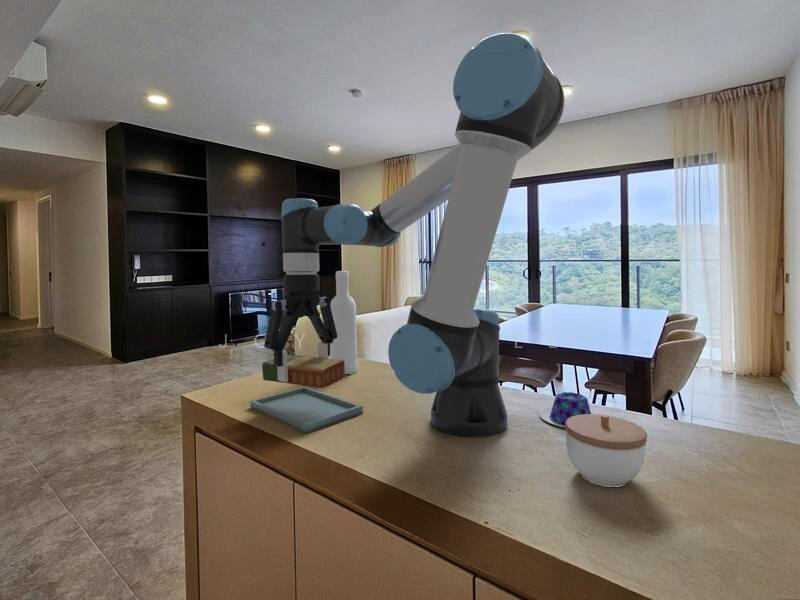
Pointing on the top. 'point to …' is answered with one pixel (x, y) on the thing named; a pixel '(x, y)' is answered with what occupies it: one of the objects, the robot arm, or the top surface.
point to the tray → (306, 408)
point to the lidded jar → (605, 448)
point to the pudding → (566, 408)
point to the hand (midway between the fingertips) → (303, 375)
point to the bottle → (344, 324)
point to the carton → (307, 371)
